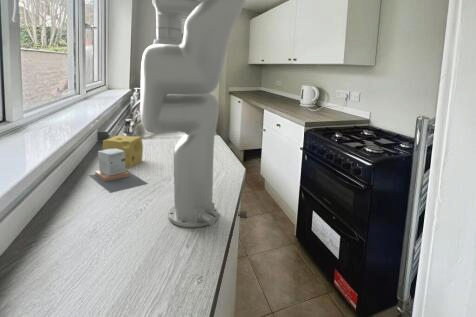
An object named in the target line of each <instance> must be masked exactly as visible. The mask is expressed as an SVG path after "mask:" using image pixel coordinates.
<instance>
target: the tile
mask: <svg viewBox="0 0 476 317" xmlns="http://www.w3.org/2000/svg"><path fill="white" fill-rule="evenodd" d="M94 173H95V175H97V176H98V177H99V178H101V179H102V180H103V181H109V180H114V179H118V178H123V177H128V176H129V173H128V172H126V171H125V172H123V173H119V174H115V175H112V176H109V175H106V174H104V173H101V172H100V171H99V169H98V170H95V171H94Z"/></svg>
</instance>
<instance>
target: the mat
mask: <svg viewBox="0 0 476 317" xmlns="http://www.w3.org/2000/svg"><path fill="white" fill-rule="evenodd" d="M126 172H128V173H129V176H128V177H123V178H118V179H114V180H109V181H103V180H102V179H101V178H99V177H98V176H97V175H95V174H90V175H88V176H89V178H92V179H93V180H94V181H95V182H96V183H97V184H98V185H100V186H101V187H103V189H104V190H106V191H107V192H109V193H110V194H112V193H117V192H120V191H123V190H128V189H132V188H137V187H141V186H145V185H148V184H149V183H148V182H146V181H145V180H143V179H141V178H140V177H138V176H136V175H135V174H134V173H132V172H130V171H128V170H127V169H126Z"/></svg>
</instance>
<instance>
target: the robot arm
mask: <svg viewBox="0 0 476 317" xmlns="http://www.w3.org/2000/svg"><path fill="white" fill-rule="evenodd" d="M245 2H246V0H152V5H153V7H154V8H155V18H156V19H155V20H156V21H155V22H156V25H155V26H156V29H155V30H156V38H155V39H154V40H153V44H151V45H149V46H147V47H146V48H145V49H144V51H143V53H142V57H141V63H140V94H139V95H140V96H139V98H140V101H139V102H140V103H139V110H140V112H139V113H140V116H139V117H140V120H141V126H142V127H143V129H144V130H145V131H147V132H148V133H151V134H177V133H178V134H182V136H181V137H180V138H179V140H178V141H177V142H176V143H175V147H174V150H173V182H174V183H173V185H174V186H173V188H174V191H173V193H174V199H173V200H174V206H172V207H171V208H170V209H169V210H168V214H167V215H168V220H169V221H170V222H171V223H172V224H174V225H176V226H179V227H182V228H192V229H193V228H201V227H206V226H209V225H210V226H212V225H215V222H216V221H217V220H218V219H219V218H220V213H219V211H218V208H216V206H215V203H214V202H213V190H214V186H213V184H214V153H215V152H214V149H215V135H216V130H217V123H218V120H219V119H218V118H219V112H220V111H219V110H220V108H219V102H218V100H217V98H216V96H214V95H213V94H212V92H214V91H215V90H216V89H217V87H218V86H219V83H220V79H221V76H222V71H223V68H224V64H225V59H226V55H227V54H226V53H227V50H228V46H229V40H230V37H231V34H232V31H233V29H234V26H235V25H236V22H237V20H238V18H239V16H240V14H241V12H242V10H243V8H244V6H245ZM182 16H183V17H187V18H186V20H185V22H184V26H183V28H184V29H183V31H182Z"/></svg>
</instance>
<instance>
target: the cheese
mask: <svg viewBox="0 0 476 317" xmlns="http://www.w3.org/2000/svg"><path fill="white" fill-rule="evenodd" d="M143 147H144V146H143V138H142V136H131V135H119V134H118V135H115V136H112V137H110V138H107V139H104V140H102V150H106V149H112V148H116V149H119V150H123V151H125V168H127V169H130V168H131V167H133V166H135V165H136V164H138V163H140V162H142V160H143V151H144V150H143V149H144V148H143Z"/></svg>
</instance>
